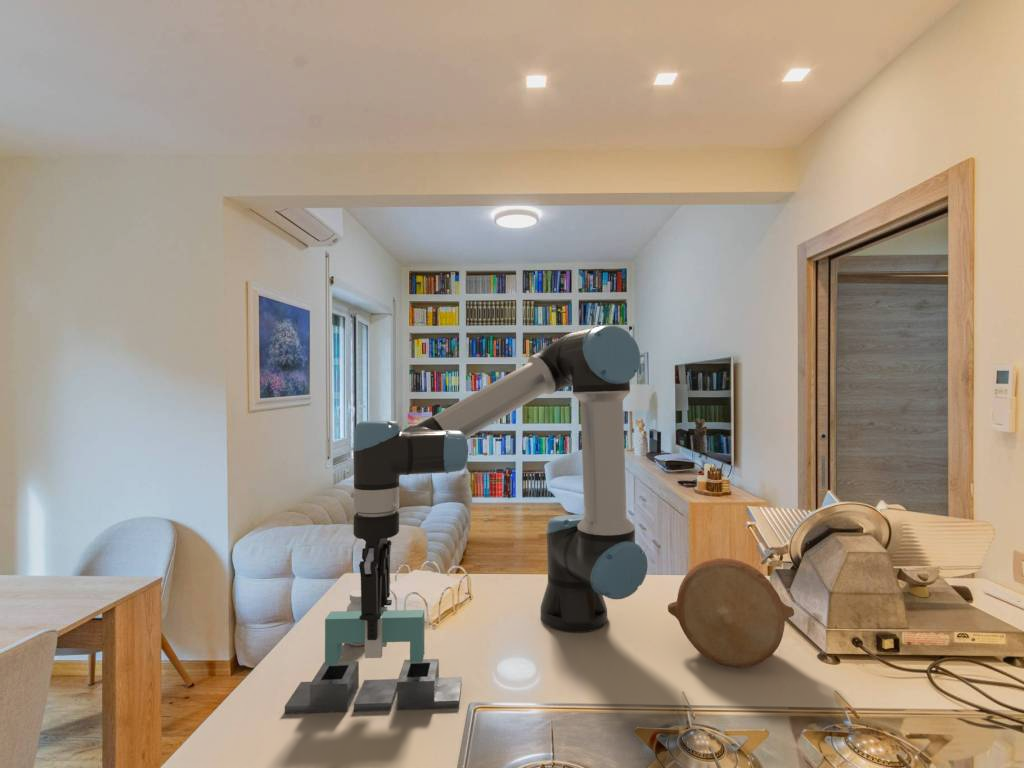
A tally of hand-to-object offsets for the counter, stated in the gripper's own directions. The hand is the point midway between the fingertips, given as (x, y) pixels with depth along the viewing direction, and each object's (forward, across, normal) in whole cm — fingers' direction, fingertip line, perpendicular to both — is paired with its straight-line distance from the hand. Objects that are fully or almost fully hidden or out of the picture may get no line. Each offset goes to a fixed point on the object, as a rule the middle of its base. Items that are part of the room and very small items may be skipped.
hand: (376, 651), depth 87 cm
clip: (+1, 0, 0) cm, 1 cm away
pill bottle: (+8, -21, -8) cm, 24 cm away
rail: (+8, 0, 0) cm, 8 cm away
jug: (+8, -15, +68) cm, 70 cm away
